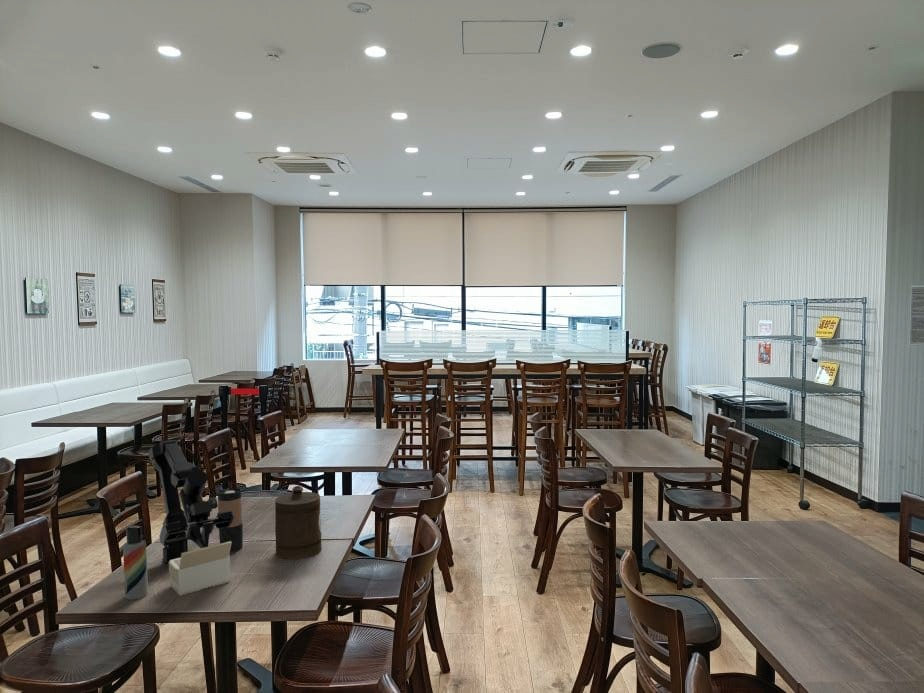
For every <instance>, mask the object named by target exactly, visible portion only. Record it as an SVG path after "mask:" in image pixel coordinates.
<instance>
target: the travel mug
mask: <svg viewBox="0 0 924 693" xmlns="http://www.w3.org/2000/svg"><path fill="white" fill-rule="evenodd" d="M242 500H243V498H242V489H241V488H239V487H231V488H230V489H227V490H225V489H220V490H218V491H217V504H218V507H217V512H218V513H219V512H223V511H228V510H230V511H231V512H233V515H234V518H233V521H232V523H231V525H230V526H229V527H226V528H222V529H218V536H219V544H221V543H225V542H229V541H231V542H232V544H231V549H230V553H235V552H234V551H236V552H238V551H237V550H239V551H241V550H242V549H243V548H244V545H243V544H244V543H243V539H244V538H243V532H244V531H243V530H244V528H243V525H244V524H243V523H244V522H243V502H242ZM218 513H217V514H218ZM241 548H242V549H241ZM240 549H241V550H240Z"/></svg>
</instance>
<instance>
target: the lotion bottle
mask: <svg viewBox="0 0 924 693" xmlns="http://www.w3.org/2000/svg"><path fill="white" fill-rule="evenodd" d="M125 530H126V532H125V533H126V534H125V535H126V536H125V537H126V541H125V543H124V544H123V545H122V547H123V548H122V550H123V551H122V555H123V556H122V558H123V577H124V578H123V579H124V582H123V583H124V597H125V599H126V600H130V601H133V600H138V599H142V598H144V597H146V596H147V595H148V592H149V591H148V590H149V589H148V587H149V585H148V562H147V558H148V557H147V542H146V540H145V539H143V533H142V532H143V530H142V525H129V526H127V527H126V528H125Z"/></svg>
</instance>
